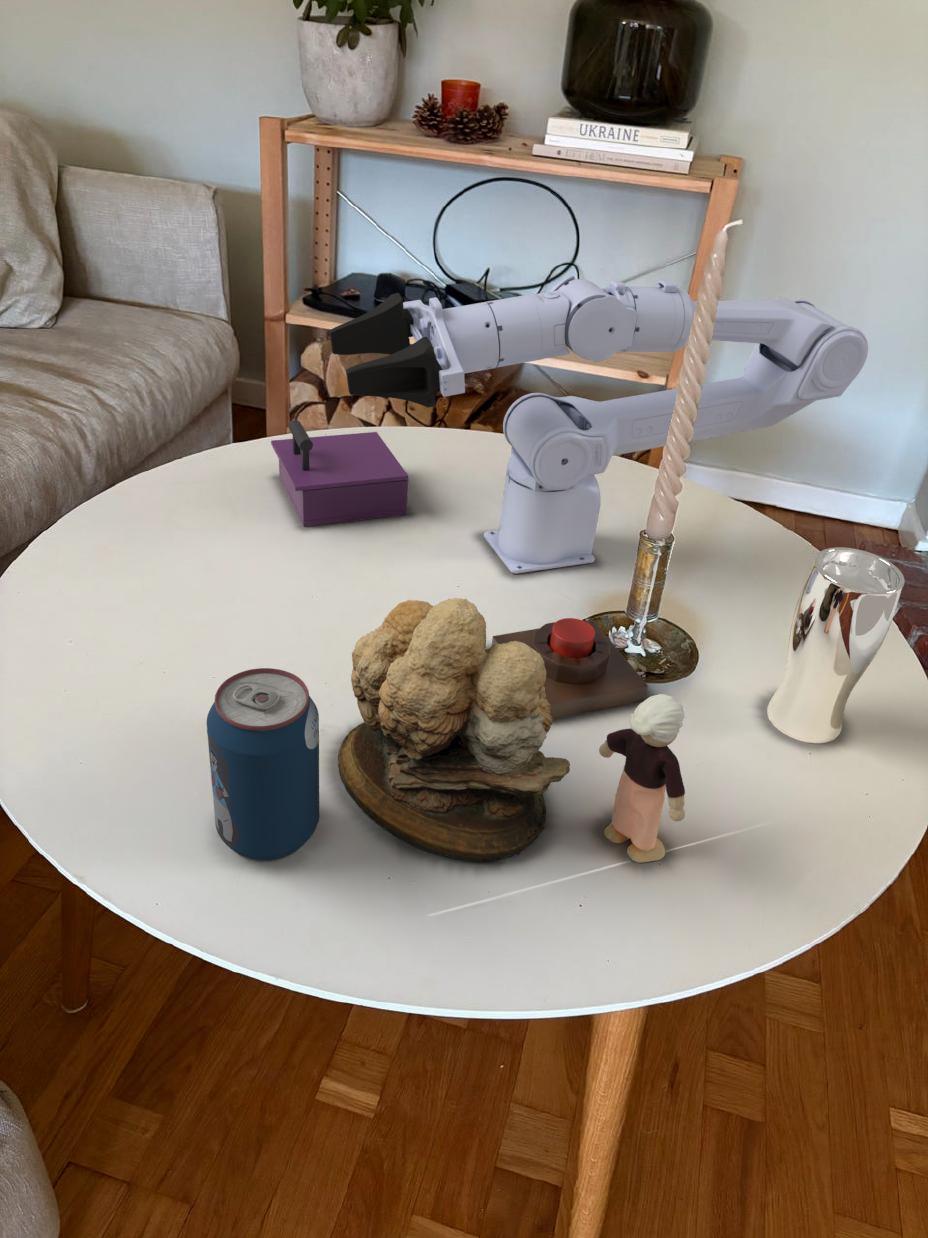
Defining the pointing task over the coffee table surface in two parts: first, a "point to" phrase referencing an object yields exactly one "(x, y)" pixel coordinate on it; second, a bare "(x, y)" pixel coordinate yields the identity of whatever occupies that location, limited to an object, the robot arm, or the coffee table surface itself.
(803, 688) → the beer glass
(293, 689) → the soda can
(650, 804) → the grandmother figurine
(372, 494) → the box
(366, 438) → the purple flat piece
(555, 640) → the button
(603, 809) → the coffee table surface
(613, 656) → the button block
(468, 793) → the tan rock sculpture
